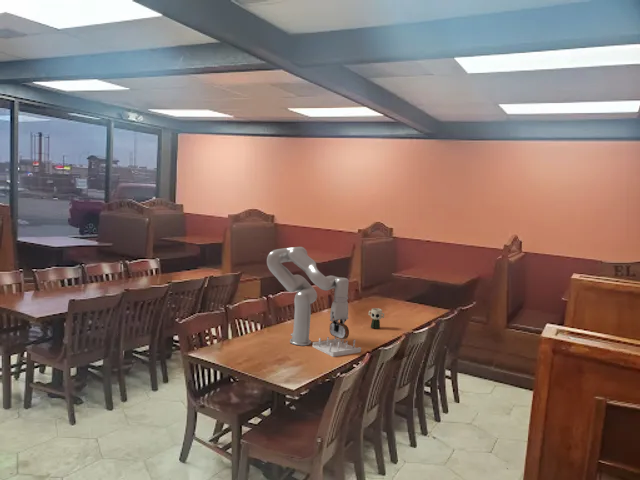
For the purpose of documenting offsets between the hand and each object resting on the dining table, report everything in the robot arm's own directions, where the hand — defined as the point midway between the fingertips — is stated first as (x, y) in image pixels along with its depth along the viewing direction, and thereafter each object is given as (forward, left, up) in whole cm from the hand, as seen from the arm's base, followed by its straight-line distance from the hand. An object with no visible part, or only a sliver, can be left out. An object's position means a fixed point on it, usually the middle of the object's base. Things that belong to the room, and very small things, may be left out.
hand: (338, 330), depth 295 cm
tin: (+1, -1, -4) cm, 4 cm away
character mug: (-26, +55, -11) cm, 62 cm away
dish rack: (0, 0, -11) cm, 11 cm away
